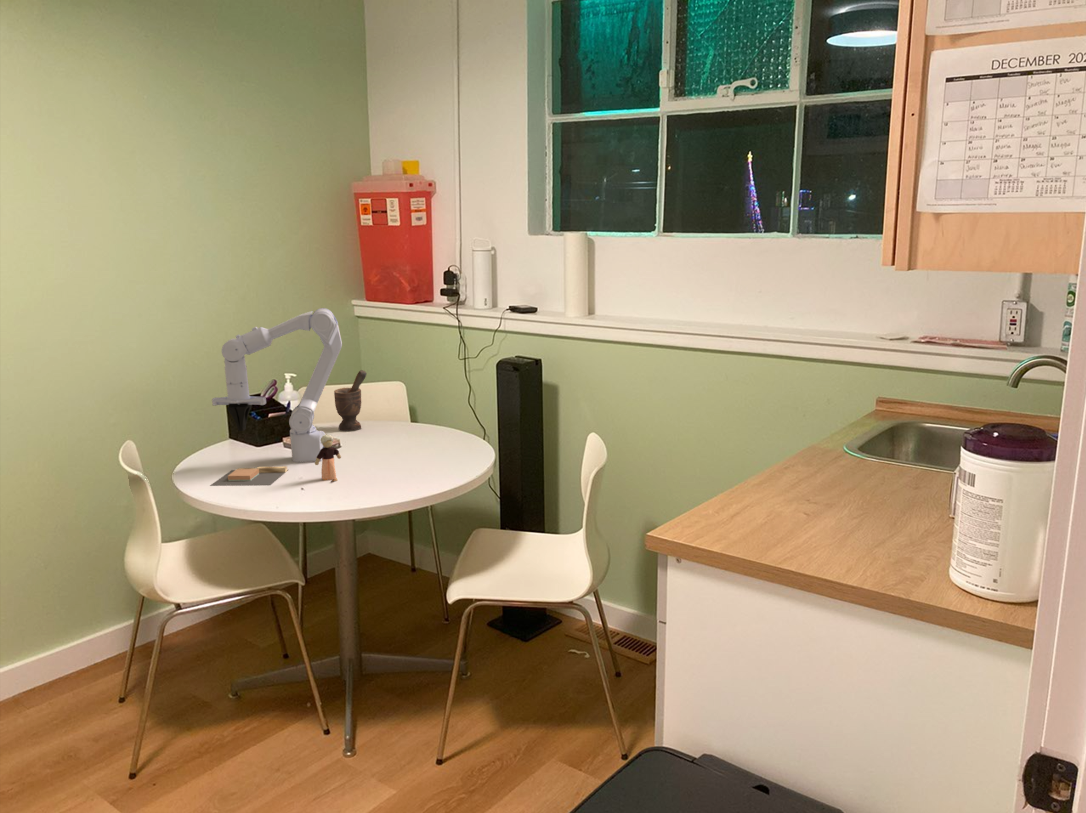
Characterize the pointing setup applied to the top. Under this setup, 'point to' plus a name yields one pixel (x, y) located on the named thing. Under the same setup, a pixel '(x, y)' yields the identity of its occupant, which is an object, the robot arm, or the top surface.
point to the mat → (258, 480)
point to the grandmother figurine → (327, 458)
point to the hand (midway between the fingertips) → (242, 430)
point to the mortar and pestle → (349, 404)
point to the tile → (243, 475)
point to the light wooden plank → (269, 469)
